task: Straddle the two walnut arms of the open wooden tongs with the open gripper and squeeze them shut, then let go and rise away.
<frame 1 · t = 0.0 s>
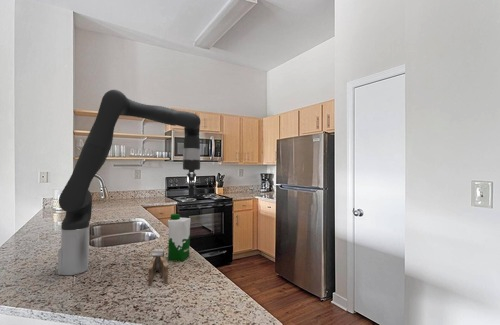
hand: (191, 195, 114), 29 cm above the countertop, tool pointing down, fingers open, 8 cm apart
tong arm: (160, 267, 98), point 3 cm above the countertop, hinge at 14.0°
tong frame: (157, 270, 104), on the countertop
milk carton: (178, 259, 117), on the countertop
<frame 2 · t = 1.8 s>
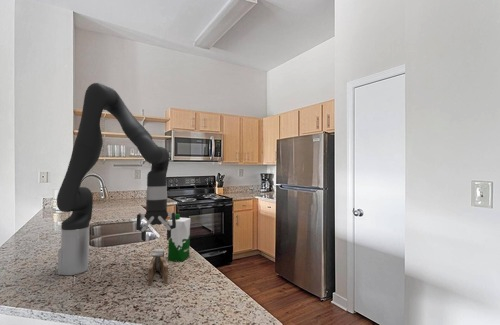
hand: (156, 240, 98), 14 cm above the countertop, tool pointing down, fingers open, 8 cm apart
nothing on the countertop moved.
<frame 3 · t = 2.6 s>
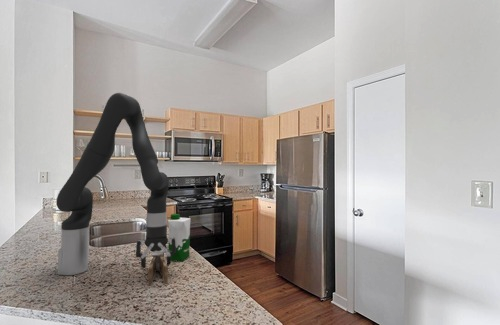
hand: (156, 266, 98), 4 cm above the countertop, tool pointing down, fingers open, 8 cm apart
nothing on the countertop moved.
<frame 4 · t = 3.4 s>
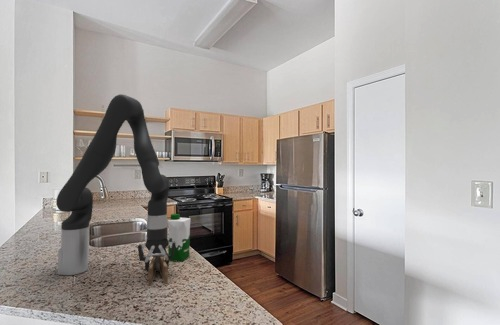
hand: (157, 270, 98), 2 cm above the countertop, tool pointing down, fingers open, 6 cm apart
tong arm: (160, 267, 98), point 3 cm above the countertop, hinge at 14.0°, touching gripper
everything else where it was.
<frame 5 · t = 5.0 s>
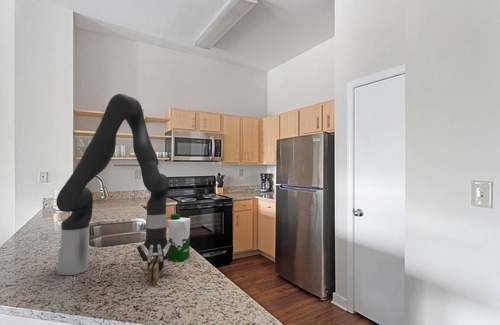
hand: (155, 270, 98), 2 cm above the countertop, tool pointing down, fingers open, 3 cm apart
tong arm: (155, 268, 97), point 3 cm above the countertop, hinge at -1.6°, touching gripper
everything else where it was.
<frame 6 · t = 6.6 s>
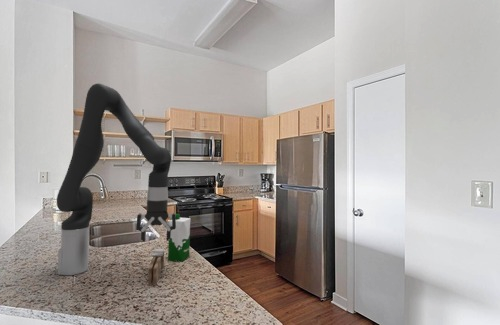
hand: (156, 240, 99), 13 cm above the countertop, tool pointing down, fingers open, 8 cm apart
tong arm: (155, 268, 97), point 3 cm above the countertop, hinge at -1.5°
everything else where it was.
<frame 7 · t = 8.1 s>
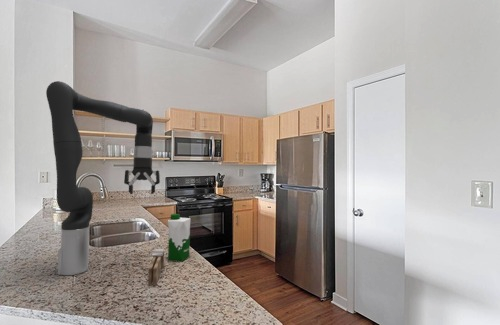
hand: (142, 194, 112), 30 cm above the countertop, tool pointing down, fingers open, 8 cm apart
nothing on the countertop moved.
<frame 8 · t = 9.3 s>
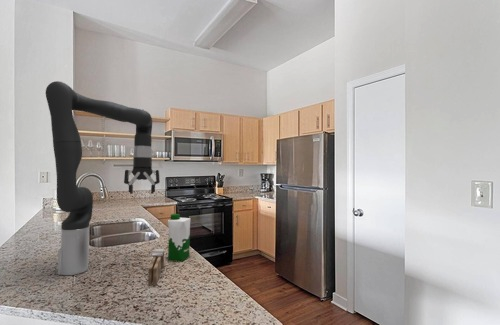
hand: (142, 193, 112), 30 cm above the countertop, tool pointing down, fingers open, 8 cm apart
nothing on the countertop moved.
at the end: tong arm at -2° (first picture: +14°); milk carton moved 0.2 cm from its start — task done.
